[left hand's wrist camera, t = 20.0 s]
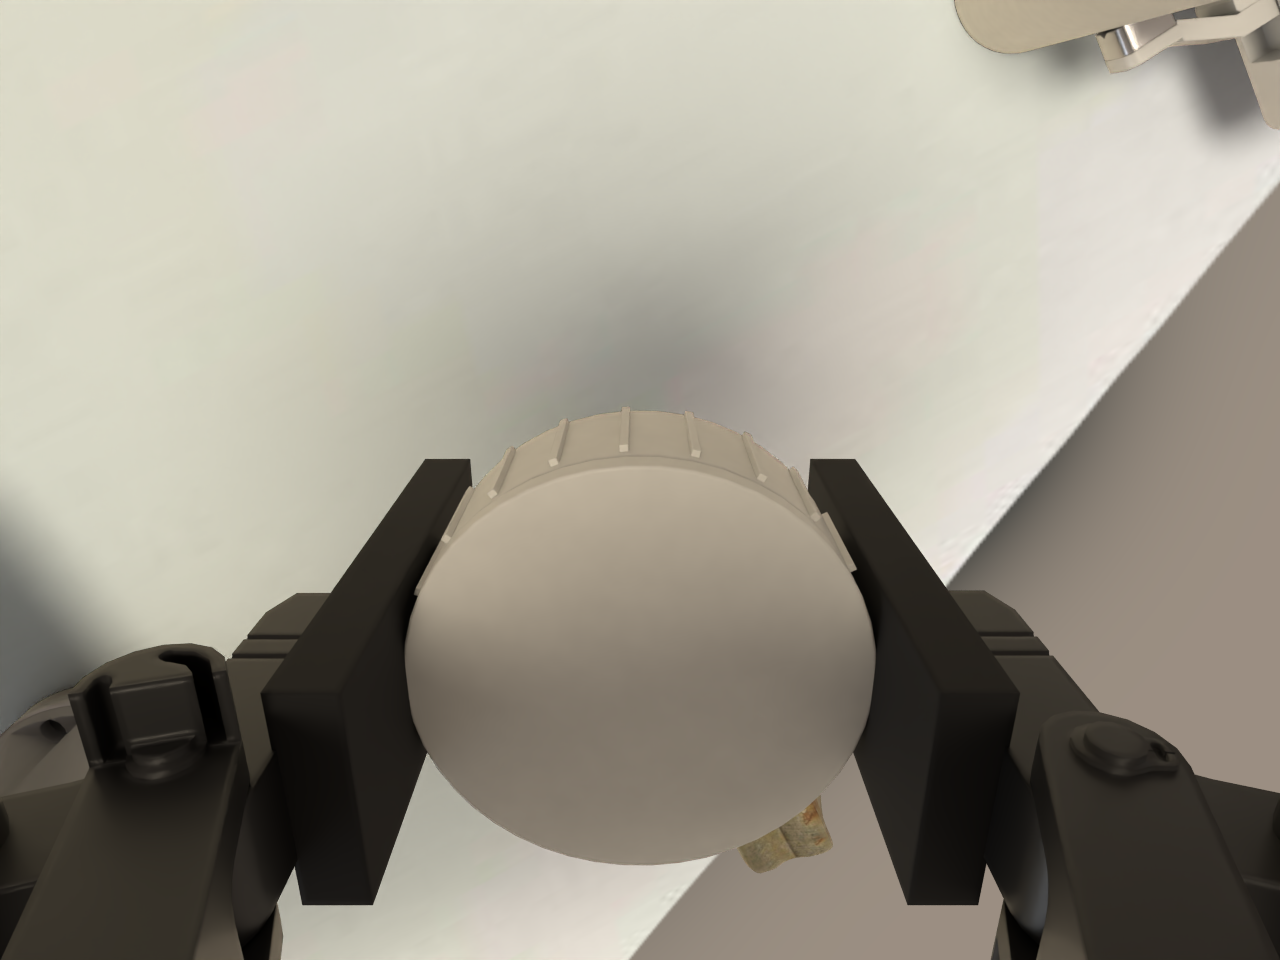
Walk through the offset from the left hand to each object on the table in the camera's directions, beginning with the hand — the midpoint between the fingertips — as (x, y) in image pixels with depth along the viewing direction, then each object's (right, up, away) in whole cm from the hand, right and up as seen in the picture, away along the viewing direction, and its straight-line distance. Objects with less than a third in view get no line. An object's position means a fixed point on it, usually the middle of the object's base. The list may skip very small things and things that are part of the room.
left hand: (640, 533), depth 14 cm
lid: (0, -1, -4) cm, 4 cm away
